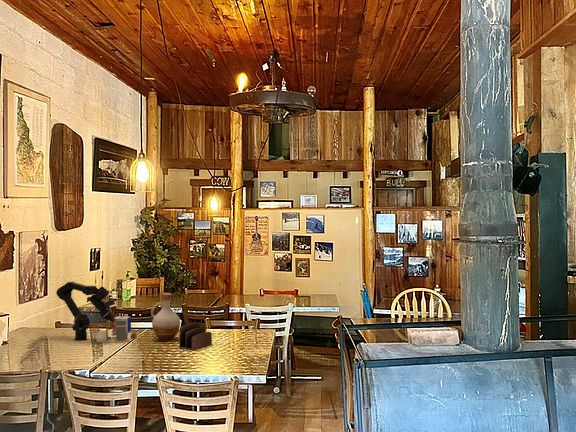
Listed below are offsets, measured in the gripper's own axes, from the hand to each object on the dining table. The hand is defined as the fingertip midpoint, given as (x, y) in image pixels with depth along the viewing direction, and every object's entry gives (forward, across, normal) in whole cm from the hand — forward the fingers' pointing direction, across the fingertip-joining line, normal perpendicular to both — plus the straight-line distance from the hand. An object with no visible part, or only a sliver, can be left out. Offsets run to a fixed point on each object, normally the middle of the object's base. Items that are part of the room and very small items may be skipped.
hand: (114, 321), depth 362 cm
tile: (+12, -4, +4) cm, 14 cm away
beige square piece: (+4, 0, +14) cm, 15 cm away
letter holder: (+42, -32, -28) cm, 60 cm away
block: (+17, +3, -1) cm, 17 cm away
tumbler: (+12, -4, +4) cm, 13 cm away
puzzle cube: (+11, +30, +4) cm, 32 cm away
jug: (+30, -6, -16) cm, 35 cm away
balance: (+6, +7, +11) cm, 15 cm away
